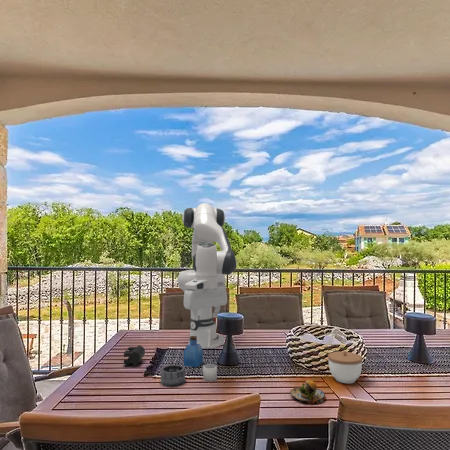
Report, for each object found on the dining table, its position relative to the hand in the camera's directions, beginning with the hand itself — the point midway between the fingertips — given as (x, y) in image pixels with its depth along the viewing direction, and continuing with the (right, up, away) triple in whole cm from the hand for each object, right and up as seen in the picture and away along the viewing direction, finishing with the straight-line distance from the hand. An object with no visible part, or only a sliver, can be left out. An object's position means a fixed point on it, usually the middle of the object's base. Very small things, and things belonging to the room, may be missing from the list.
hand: (206, 318), depth 147 cm
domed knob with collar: (-13, -23, -5) cm, 27 cm away
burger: (+36, -23, -20) cm, 47 cm away
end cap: (-33, -25, +17) cm, 44 cm away
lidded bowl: (+54, -23, -4) cm, 59 cm away
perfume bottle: (-7, -24, +16) cm, 30 cm away
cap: (+1, -23, -2) cm, 23 cm away
